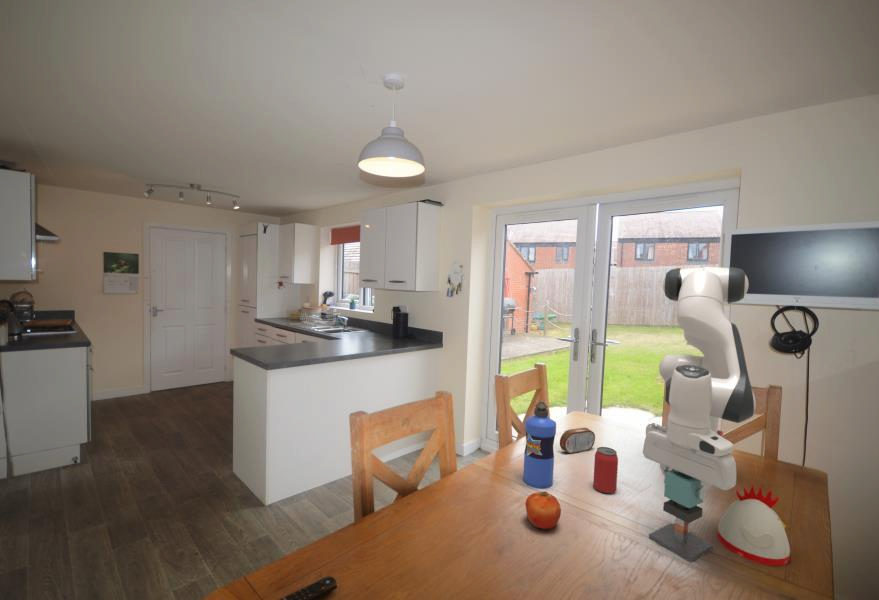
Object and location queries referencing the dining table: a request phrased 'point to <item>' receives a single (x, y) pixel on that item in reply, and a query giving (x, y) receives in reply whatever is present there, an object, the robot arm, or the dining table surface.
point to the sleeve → (682, 488)
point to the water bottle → (539, 448)
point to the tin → (577, 440)
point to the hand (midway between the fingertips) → (683, 490)
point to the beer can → (605, 470)
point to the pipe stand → (681, 540)
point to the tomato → (543, 510)
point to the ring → (682, 511)
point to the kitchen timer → (755, 529)
